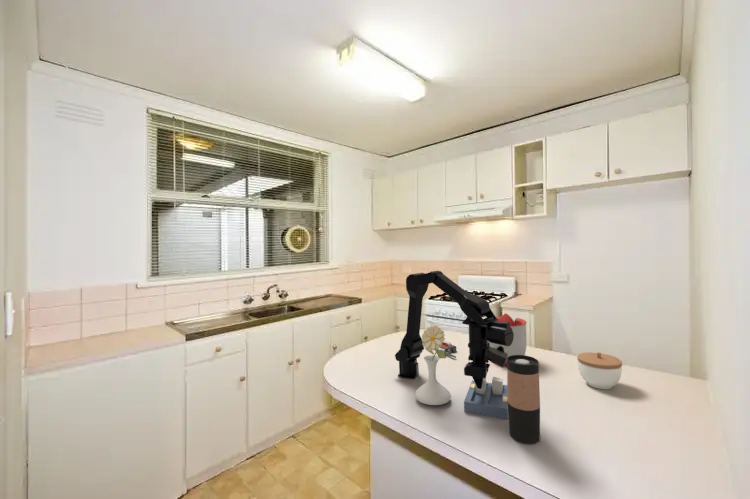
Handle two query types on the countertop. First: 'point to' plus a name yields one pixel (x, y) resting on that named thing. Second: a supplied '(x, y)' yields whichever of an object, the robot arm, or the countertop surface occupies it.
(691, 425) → the countertop surface
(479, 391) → the left tab
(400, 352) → the robot arm
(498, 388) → the right tab
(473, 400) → the switch panel
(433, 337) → the flower in vase
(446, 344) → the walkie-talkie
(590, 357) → the lidded bowl
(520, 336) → the citrus juicer
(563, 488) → the countertop surface
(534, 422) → the travel mug
